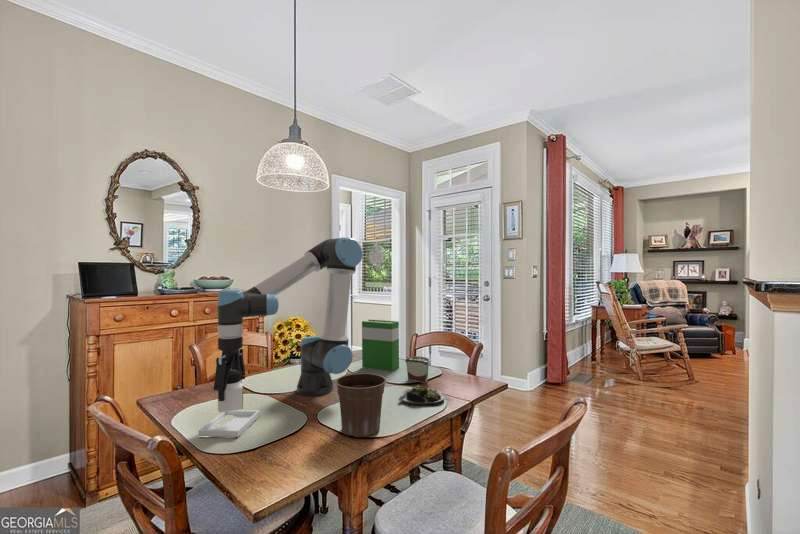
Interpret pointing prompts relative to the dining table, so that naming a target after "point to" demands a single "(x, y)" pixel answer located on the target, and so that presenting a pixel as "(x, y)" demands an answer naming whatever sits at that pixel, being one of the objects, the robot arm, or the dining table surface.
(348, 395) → the plant pot
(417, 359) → the food container
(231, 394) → the medicine bottle
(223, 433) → the tray
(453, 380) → the dining table surface
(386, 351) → the cereal box
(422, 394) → the salad plate
